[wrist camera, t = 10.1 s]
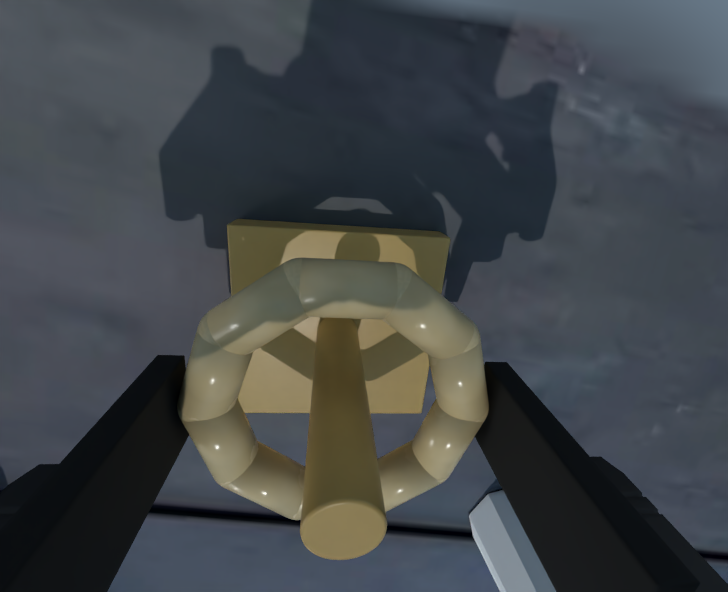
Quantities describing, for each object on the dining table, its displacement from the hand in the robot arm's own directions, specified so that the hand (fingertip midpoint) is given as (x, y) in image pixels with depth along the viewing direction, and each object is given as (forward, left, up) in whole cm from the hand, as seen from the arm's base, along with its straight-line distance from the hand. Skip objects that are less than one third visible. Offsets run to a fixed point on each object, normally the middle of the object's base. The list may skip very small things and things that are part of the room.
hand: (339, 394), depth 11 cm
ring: (0, 0, +1) cm, 1 cm away
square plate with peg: (0, 0, -6) cm, 6 cm away
